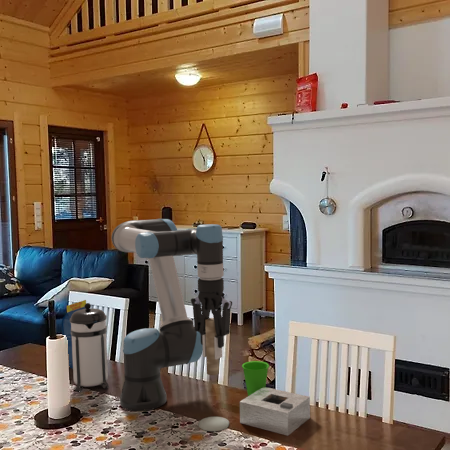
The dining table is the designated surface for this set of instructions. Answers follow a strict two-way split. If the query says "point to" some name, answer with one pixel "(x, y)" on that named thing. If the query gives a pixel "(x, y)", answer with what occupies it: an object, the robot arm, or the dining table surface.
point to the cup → (255, 375)
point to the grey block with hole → (275, 410)
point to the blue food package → (67, 326)
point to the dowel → (211, 348)
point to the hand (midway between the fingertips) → (212, 356)
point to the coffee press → (89, 347)
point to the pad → (213, 424)
